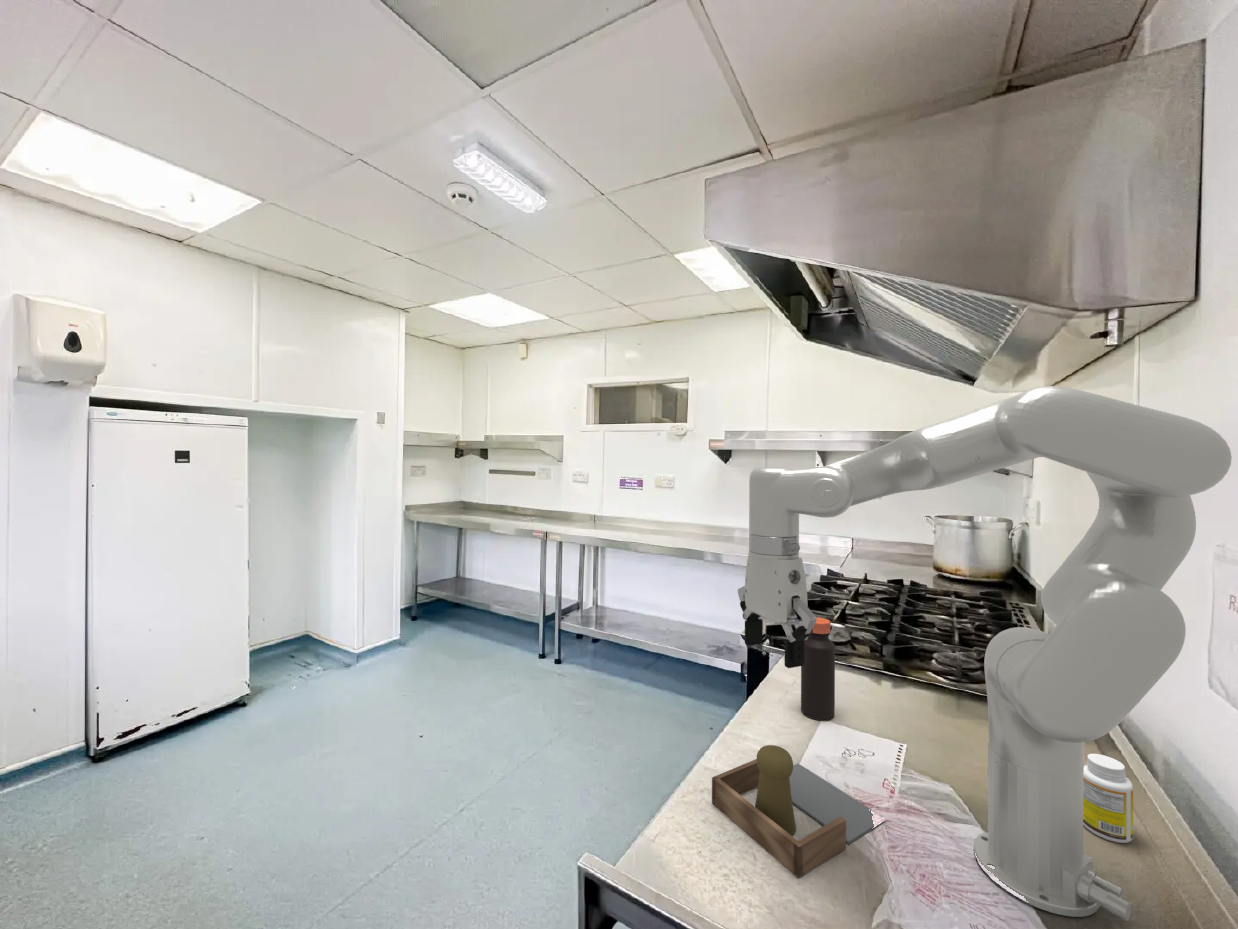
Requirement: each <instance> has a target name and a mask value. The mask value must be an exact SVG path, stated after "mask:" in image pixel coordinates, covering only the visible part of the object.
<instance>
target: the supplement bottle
mask: <svg viewBox="0 0 1238 929" xmlns="http://www.w3.org/2000/svg"><path fill="white" fill-rule="evenodd" d="M1083 827H1085V828H1086V829H1087V830H1088V831H1090V832H1091V833H1092V834H1095V835H1096V836H1099V837H1100V838H1101V839H1102V838H1103V839H1104V840H1107V841H1110V842H1113V843H1114V842H1115V843H1120V844H1121V843H1122V844H1127V843H1130V842H1132V841H1133V839H1134V787H1133V783H1132V782H1131V780H1130V779H1129V778H1128V777H1126V766H1125V765H1124V763H1122V762H1121V761H1119V760H1117V759H1115V758H1112V757H1110V756H1107V755H1104V754H1100V753H1088V754H1087V759H1086V765H1085V764H1084V772H1083Z"/></svg>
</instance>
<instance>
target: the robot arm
mask: <svg viewBox="0 0 1238 929" xmlns="http://www.w3.org/2000/svg"><path fill="white" fill-rule="evenodd" d="M1037 458H1038V459H1039V458H1046V459H1049V460H1051V461H1054V462H1057V463H1061V464H1063V465H1066V466H1068V467H1071V468H1074V469H1078V470H1080V471H1084V472H1086V474H1087V475H1088V477H1089V479H1090V480H1091V481H1092V483H1093V485H1094V487H1095V490H1096V491H1097V495H1098V496H1097V497H1098V509H1097V514H1096V516H1095V518H1094V520H1093V522H1092V523H1091V526H1090V527H1089V528H1088V530H1087V531H1086V533H1085V534H1084V536H1083V537H1082V539H1081V540H1080V541H1079V543H1078V544H1077V545H1076V546H1075V547H1074V549H1073V550H1072V551H1071V552H1070V554H1068V556H1067V557H1066V558H1065V560H1064V561H1063V562H1062V563H1061V565H1060V566H1059V567H1058V569H1056V571H1055V572H1054V574H1052V576H1051V577H1050V578H1049V579H1048V580H1047V582H1046V583H1045V585H1044V587H1043V588H1042V592H1041V595H1040V601H1041V603H1040V604H1041V607H1042V609H1043V611H1044V613H1045V614H1046V616H1047V617H1048V619H1050V621H1052V622H1053V624H1054V625H1055V627H1054V628H1053V630H1051V632H1050V633H1047V632H1045V631H1042V630H1039V629H1036V628H1032V627H1023V626H1019V627H1018V626H1017V627H1009V628H1007V629H1004V630H1002V631H1000V632H998V633H997V634H996V635H995V636H993V638H992V639H991V640H990V642H989V643H988V644H987V646H986V650H985V654H984V662H983V664H984V678H985V679H984V680H985V687H986V689H985V690H986V698H987V714H988V716H987V717H988V718H987V720H988V743H987V746H988V747H987V748H988V750H987V751H988V752H987V756H988V757H987V759H988V761H987V769H988V770H987V831H986V832H982V833H981V834H978V836H976V837H975V839H974V842H973V852H974V851H975V853H976V856H977V858H978V859H979V861H980V862H981V864H982V865H984V867H985V868H986V869H987V870H988V871H990V872H991V873H993V874H994V876H995V877H997V878H998V879H999V881H1001V882H1002V883H1003V884H1005V885H1006V886H1007V887H1009V888H1010V889H1012V890H1013V891H1015V892H1016V893H1018V894H1019V895H1021V896H1024V898H1025V899H1026V901H1028V902H1029V904H1028V905H1031V906H1033V907H1034V908H1038V909H1040V910H1043V911H1045V912H1047V913H1052V914H1055V915H1060V916H1066V917H1073V918H1075V917H1077V918H1079V917H1081V918H1082V917H1087V916H1091V915H1093V914H1094V913H1096V912H1098V910H1099V909H1100V907H1103V908H1105V910H1107V911H1109V912H1110V913H1113V914H1114V915H1115V916H1117V917H1119V918H1121V919H1122V920H1124V921H1126V922H1129V920H1130V918H1131V915H1132V903H1131V902H1129V901H1128V900H1125V899H1124V888H1123V887H1120V886H1119V885H1117V884H1115V883H1113V882H1112V881H1110V880H1107V879H1105V878H1102V877H1101V876H1099V875H1098V873H1097V872H1096V871H1094V870H1093V857H1092V856H1090V855H1088V854H1086V853H1084V825H1083V772H1084V766H1085V756H1084V754H1085V753H1084V752H1085V751H1084V743H1089V742H1091V741H1095V740H1097V739H1100V738H1101V737H1103V736H1106V735H1107V734H1108V733H1110V732H1111V731H1112V730H1114V729H1115V728H1116V727H1117V726H1118V725H1120V723H1121V722H1123V720H1125V718H1126V717H1127V716H1128V715H1129V714H1130V713H1131V712H1132V710H1134V708H1135V707H1136V706H1137V705H1138V704H1139V703H1140V702H1141V700H1142V699H1143V698H1145V696H1146V695H1147V694H1148V693H1149V692H1150V690H1152V688H1153V687H1154V686H1155V685H1156V684H1157V682H1159V681H1160V679H1161V678H1162V677H1163V676H1164V675H1165V674H1166V672H1167V671H1168V670H1169V669H1170V668H1171V666H1172V665H1173V664H1174V663H1175V661H1176V660H1177V659H1178V657H1179V655H1180V653H1181V651H1182V650H1183V646H1184V643H1185V639H1186V631H1187V630H1186V622H1185V619H1184V615H1183V613H1182V611H1181V610H1180V608H1179V606H1178V605H1177V604H1176V603H1175V601H1174V600H1173V599H1172V598H1171V597H1170V596H1169V595H1167V594H1166V593H1165V592H1163V591H1162V589H1163V588H1164V587H1165V585H1166V584H1167V583H1168V581H1169V580H1170V579H1171V577H1172V576H1173V575H1174V573H1175V572H1176V570H1177V569H1178V568H1179V566H1180V565H1181V564H1182V563H1183V561H1184V560H1185V558H1186V556H1187V555H1188V553H1189V552H1190V550H1191V548H1192V546H1193V543H1194V541H1195V538H1196V537H1195V536H1196V530H1197V516H1196V512H1195V507H1194V504H1193V499H1192V497H1191V496H1192V495H1196V494H1199V493H1203V492H1206V491H1207V490H1209V489H1211V488H1213V487H1215V486H1216V485H1217V484H1218V483H1220V482H1221V481H1223V479H1224V478H1225V476H1226V475H1227V474H1228V473H1229V470H1230V468H1231V466H1232V452H1231V449H1230V446H1229V444H1228V442H1227V441H1226V440H1225V439H1224V437H1223V436H1222V435H1221V434H1220V433H1219V432H1217V431H1216V430H1215V429H1213V428H1212V427H1210V426H1208V425H1206V424H1204V423H1201V422H1199V421H1198V420H1193V419H1191V418H1188V417H1186V416H1181V415H1177V414H1173V413H1171V412H1170V413H1169V412H1167V411H1163V410H1158V409H1154V408H1150V407H1146V406H1142V405H1139V404H1134V403H1131V402H1128V401H1124V400H1119V399H1115V398H1112V397H1108V396H1105V395H1104V396H1103V395H1100V394H1097V393H1093V392H1090V391H1085V390H1081V389H1080V390H1079V389H1075V388H1071V387H1066V386H1059V385H1057V386H1056V385H1044V386H1039V387H1034V388H1032V389H1028V390H1027V391H1024V392H1022V393H1019V394H1017V395H1014V396H1010V397H1008V398H1005V399H1002V400H999V401H997V402H994V403H991V404H987V405H985V406H982V407H980V408H977V409H973V410H970V411H968V412H964V413H962V414H959V415H957V416H954V417H951V418H947V419H945V420H942V421H938V422H935V423H932V424H929V425H927V426H924V427H921V428H918V429H915V430H913V431H911V432H909V433H905V434H903V435H901V436H899V437H897V438H896V439H894V440H892V441H889V442H888V443H886V444H884V445H880V446H878V447H876V448H874V449H871V450H868V451H865V452H862V453H860V454H855V455H853V456H851V457H848V458H846V459H842V460H839V461H836V462H833V463H831V464H828V465H823V466H819V467H810V468H801V469H800V468H799V469H793V468H790V467H757V468H754V469H753V470H751V472H750V475H749V479H748V480H749V482H748V484H749V492H748V495H749V496H748V497H749V498H748V500H749V501H748V506H749V507H748V510H749V511H748V512H749V514H748V518H749V519H748V553H747V559H746V560H747V561H746V567H745V577H744V586H742V587H739V588H738V589H737V595H738V598H739V599H738V600H739V601H740V602H739V606H740V608H741V610H742V619H743V620H744V644H745V645H746V646H755V645H761V644H763V640H764V639H763V638H764V637H763V634H764V632H763V629H764V628H763V626H764V625H763V623H764V621H763V619H762V618H764V619H766V620H768V621H770V622H773V623H775V624H778V625H781V626H782V629H783V630H784V632H785V635H786V637H787V639H784V667H785V668H787V669H792V668H799V667H801V666H803V665H804V640H807V639H808V636H809V635H810V634H811V633H812V631H813V627H814V625H815V623H816V620H817V618H816V617H817V616H816V614H815V613H813V611H811V609H810V608H809V606H808V587H807V578H806V571H805V566H804V562H803V558H802V557H800V549H801V545H800V515H806V516H812V517H817V518H834V517H835V518H836V517H838V516H841V515H842V514H843V513H845V512H846V511H847V510H848V509H850V507H853V506H857V505H859V504H861V503H862V504H863V503H867V502H868V501H871V500H876V499H879V498H883V497H887V496H891V495H895V494H900V493H905V492H911V491H912V492H913V491H924V490H931V489H935V488H939V487H940V488H941V487H944V486H948V485H951V484H955V483H957V482H961V481H964V480H968V479H971V478H974V477H977V476H980V475H983V474H987V473H990V472H993V471H997V470H1001V469H1003V468H1007V467H1011V466H1014V465H1017V464H1019V463H1024V462H1026V461H1027V462H1028V461H1030V460H1034V459H1037ZM761 617H762V618H761ZM793 625H794V627H795V630H793V628H792V626H793ZM987 865H992V866H994V867H995V869H992V868H990V867H988V866H987Z"/></svg>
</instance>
